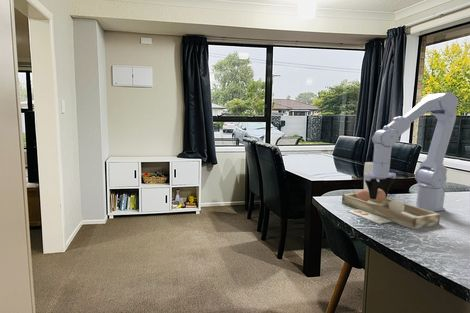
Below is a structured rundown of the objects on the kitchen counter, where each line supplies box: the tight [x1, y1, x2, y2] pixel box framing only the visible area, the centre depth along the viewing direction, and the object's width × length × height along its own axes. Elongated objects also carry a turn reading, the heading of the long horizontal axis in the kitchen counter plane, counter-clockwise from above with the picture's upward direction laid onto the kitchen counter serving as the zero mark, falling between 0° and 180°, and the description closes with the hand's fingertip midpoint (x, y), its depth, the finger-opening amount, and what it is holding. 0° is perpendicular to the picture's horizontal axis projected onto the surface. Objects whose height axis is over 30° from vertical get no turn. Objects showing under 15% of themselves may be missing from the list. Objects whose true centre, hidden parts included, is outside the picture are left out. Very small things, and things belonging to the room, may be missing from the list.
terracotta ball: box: [373, 188, 387, 202], centre depth 121 cm, size 5×5×5 cm
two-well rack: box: [341, 192, 441, 230], centre depth 118 cm, size 13×31×4 cm, turn 26°
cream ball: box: [389, 198, 405, 213], centre depth 114 cm, size 5×5×5 cm
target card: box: [347, 208, 393, 225], centre depth 113 cm, size 6×14×1 cm, turn 26°
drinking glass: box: [363, 161, 379, 192], centre depth 138 cm, size 7×7×15 cm
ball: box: [356, 189, 370, 202], centre depth 128 cm, size 5×5×5 cm
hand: (378, 198), depth 121 cm, fingers closed on terracotta ball, 5 cm apart
